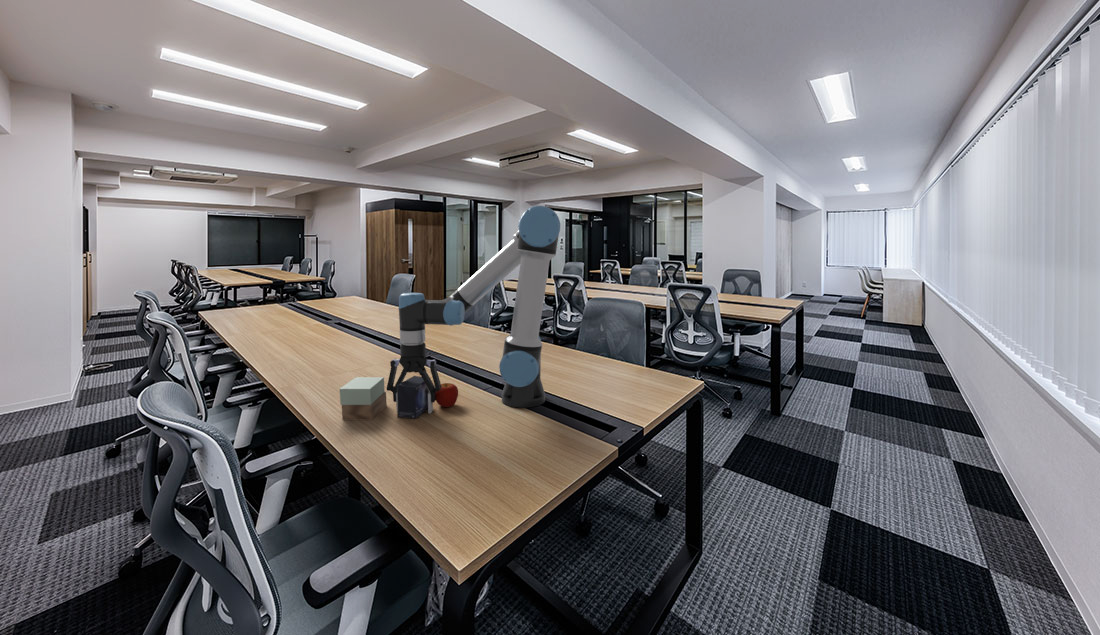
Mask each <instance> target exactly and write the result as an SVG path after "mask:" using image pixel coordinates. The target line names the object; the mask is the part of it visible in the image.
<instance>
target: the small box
mask: <svg viewBox="0 0 1100 635" xmlns="http://www.w3.org/2000/svg"><path fill="white" fill-rule="evenodd" d="M430 379H431V377H430ZM431 380H432V379H431ZM429 392H430V391H429V389H428V387H427V385H426V384H425V382H424V380H423V378H422V376H421V375H419V376H417V375H413V376H412V377H409V378H408V379H406V380H403V382H402V383H400V384H398V385H397V398H398V413H397V417H398V418H404V419H411V420H412V419H414V420H416V419H417V418H419V417H420V416H421V415H423V414H424V413H426V412H428V393H429Z"/></svg>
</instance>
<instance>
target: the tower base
mask: <svg viewBox="0 0 1100 635" xmlns="http://www.w3.org/2000/svg"><path fill="white" fill-rule="evenodd" d="M387 406H388V404H387V391H385V392H384V393H383V394H382V395H381V396H380V397H379V398H378V399H377V400H376V401H374V402H373V403H372V404H371V405H341V416H342V418H341V419H342V420H371V421H372V420H374V418H376V416H378V415H379V414H380V413H381V412H382V411H383V409H385V408H386V407H387Z"/></svg>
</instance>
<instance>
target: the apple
mask: <svg viewBox="0 0 1100 635" xmlns="http://www.w3.org/2000/svg"><path fill="white" fill-rule="evenodd" d="M458 397H459V388H458V386H456V385H455V384H454V383H449V382H444V383H441V389H440V390H439V391H437V392H436V400H435V402H436V403H437V404H438V406H441V407H443V408H451V407H453V406H454V405H455V404H456V402H457V401H458Z"/></svg>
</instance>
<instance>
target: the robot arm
mask: <svg viewBox="0 0 1100 635" xmlns="http://www.w3.org/2000/svg"><path fill="white" fill-rule="evenodd" d="M517 227H518V230H517V231H516V232H514V234H513V239H511V240H510V241H509V242H508V243H507V244H506V245H505V246H504V247H503V248H502V249H501V250H499V251H498V252H497V253H496V254H495V255H494V256H492V257H491V258H490V259H489V260H488V261H487V262H486V263H485V264H484V265H483V266H482V267H480V268H479V270H477V271H476V272H475V273H474V274H473V275H471V277H469V278H468V279H467V280H466V281H465V282H464V283H463V284H461V286H460V287H458V288H457V289H456V290H455V291H454V292H453V293H451V294H450V295H449V296H448V297H446V298H444V299H442V300H441V299H439V300H437V299H435V300H434V299H433V300H432V299H431V300H429V299H426V298H425V295H424V293H421V292H403V293H401V294H399V297H398V319H399V342H400V344H399V345H400V347H399V348H400V353H399V354H400V358H398V359H396V358H393V359H392V360H390V370H389V376H388V380H387V386H386V392H388V391H389V392H392V400H393V403H396V414H398V398H397V385H398V384H400V383H402V382H404V381H405V378H406V375H407V374H408V373H418V374H419V376H420V377H422V378H423V380H424V382H425V384H426V385H427V387H428V389H429V391H430V392H429V393H428V410H427V412H428V413H427V414H432V412H433V411H434V405H433V404H434V403H435V402H436V392H437V391H439V390H440V389H441V384H442V383H441V379H440V376H439V372H438V369H437V360H436V359H428V358H427V351H426V347H427V345H426V343H425V342H426V325H436V326H437V325H439V326H440V325H442V326H456V325H457V326H461V325H462V324H463V323H464V320H465V314H466V313H467V312H468V311H469V310H470V309H471V308H472V307H473V306H475V304H477V303H478V302H480V300H481V299H482V298H483V297H484V296H486V295H487V294H488V293H489V292H490V291H491V290H492V289H493V288H495V287H496V286H497V285H499V283H500V282H502V280H504V279H505V278H506V277H507V276H508V275H510V274H511V273H512V272H513V271H514V270H516V268H517V267H518V266H519V269H518V270H519V271H518V277H517V278H518V280H517V286H516V294H515V299H514V305H513V306H514V307H513V313H512V314H513V315H512V322H511V328H510V329H511V330H510V333H509V335H508V336H507V335H506V337H505V338H504V343H503V344H504V345H503V350H502V358H501V359H500V362H499V366H498V368H499V374H500V376H501V378H502V380H504V381H505V384H504V387H503V389H502V392H501V402H502V404H504V405H506V406H509V407H513V408H526V409H527V408H533V407H538V406H541V405H543V404H544V403H545V402H546V392H545V389H544V386H543V383H542V380H541V373H542V372H541V364H542V363H541V362H542V361H541V360H542V349H543V342H542V339H541V337H540V329H541V322H542V321H541V320H542V315H543V309H544V308H543V307H544V302H545V297H546V294H545V293H546V289H547V288H546V287H547V282H548V275H549V267H550V261H551V260H552V259H554V258H555V257H556V255H557V250H558V249H557V248H558V241H559V235H560V233H561V232H560V231H561V221H560V218H559V216H558V214H557V213H556V211H554V210H553V209H552V208H551V207H548V206H544V205H535V206H531V207H529V208H528V209H526V210H525V211H524V212H523V213H522V215H521V216H520V218H519V221H518V226H517ZM426 364H427V365H428V367H429V370H430V374H431V376H432V379H430V378H431V377H430V375H429V374H428V372H427V369H426V367H425V366H426ZM399 365H400V366H402V371H401V372H400V374H399V377H398V378H397V381H396V382H395V379H396V374H397V370H398V366H399Z"/></svg>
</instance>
